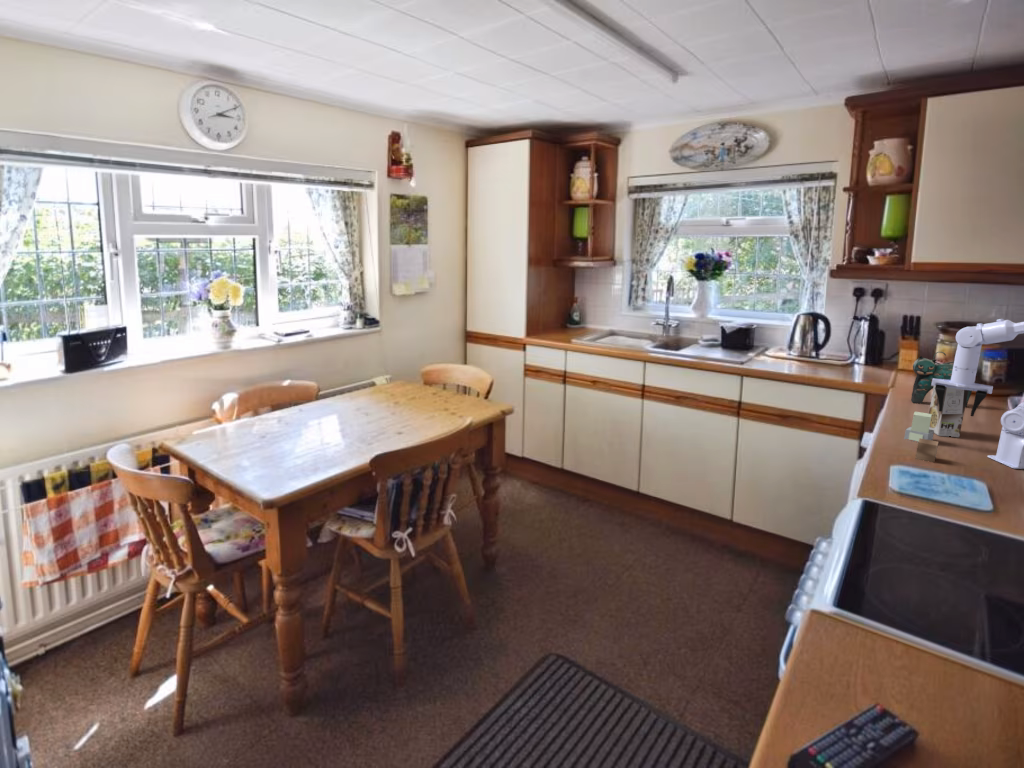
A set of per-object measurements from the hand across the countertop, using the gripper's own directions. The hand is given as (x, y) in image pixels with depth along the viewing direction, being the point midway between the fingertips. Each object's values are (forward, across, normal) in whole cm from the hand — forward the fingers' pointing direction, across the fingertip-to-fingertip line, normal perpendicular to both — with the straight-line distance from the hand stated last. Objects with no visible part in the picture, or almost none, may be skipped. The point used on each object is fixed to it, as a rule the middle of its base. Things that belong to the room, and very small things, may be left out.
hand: (956, 413), depth 187 cm
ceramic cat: (+11, -7, +58) cm, 60 cm away
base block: (+11, -8, +2) cm, 14 cm away
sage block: (+7, -8, +1) cm, 11 cm away
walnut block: (+10, -5, -17) cm, 21 cm away
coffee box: (+11, -3, +16) cm, 19 cm away
